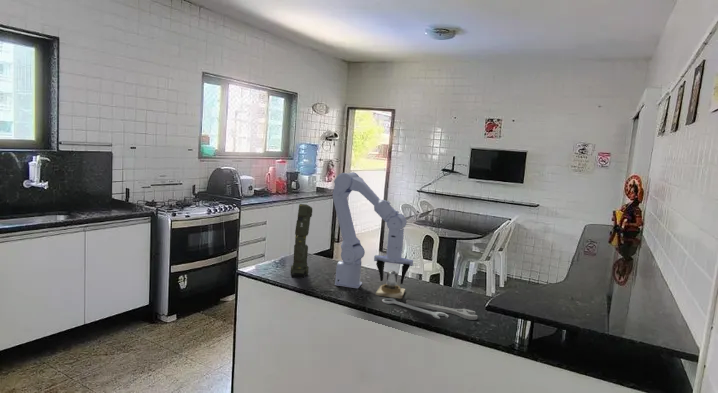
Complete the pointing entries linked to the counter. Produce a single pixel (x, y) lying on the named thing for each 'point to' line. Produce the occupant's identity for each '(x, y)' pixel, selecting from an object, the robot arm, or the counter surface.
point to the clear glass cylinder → (392, 280)
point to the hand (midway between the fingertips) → (391, 281)
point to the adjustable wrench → (445, 309)
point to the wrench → (415, 308)
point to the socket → (390, 292)
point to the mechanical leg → (301, 242)
